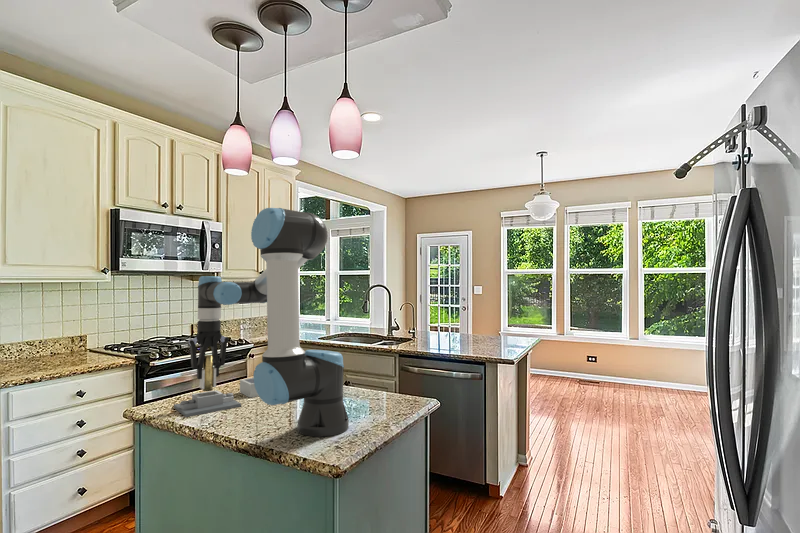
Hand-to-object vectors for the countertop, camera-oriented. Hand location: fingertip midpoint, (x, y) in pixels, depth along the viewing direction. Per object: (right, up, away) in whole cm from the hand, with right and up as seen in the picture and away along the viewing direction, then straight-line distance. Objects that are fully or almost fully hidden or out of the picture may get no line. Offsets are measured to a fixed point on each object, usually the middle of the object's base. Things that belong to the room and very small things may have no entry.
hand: (207, 387), depth 150 cm
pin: (0, -1, 0) cm, 1 cm away
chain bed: (0, -7, 0) cm, 7 cm away
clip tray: (+14, -8, +22) cm, 27 cm away
